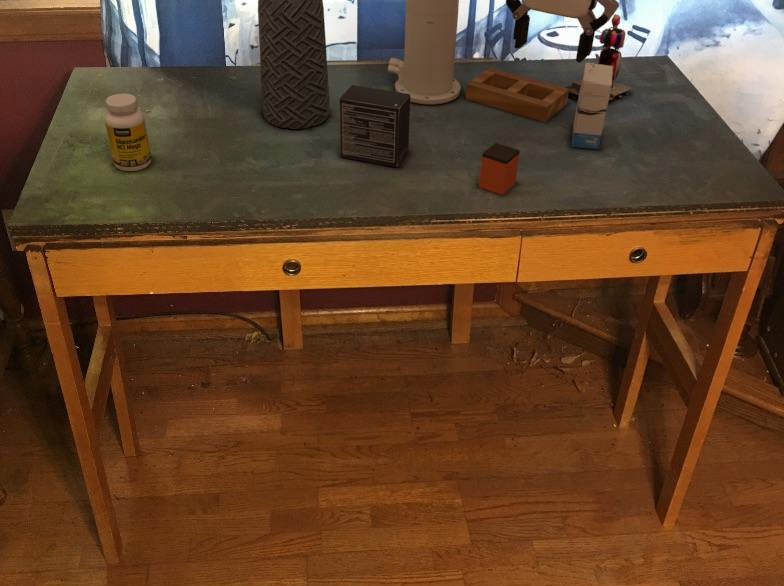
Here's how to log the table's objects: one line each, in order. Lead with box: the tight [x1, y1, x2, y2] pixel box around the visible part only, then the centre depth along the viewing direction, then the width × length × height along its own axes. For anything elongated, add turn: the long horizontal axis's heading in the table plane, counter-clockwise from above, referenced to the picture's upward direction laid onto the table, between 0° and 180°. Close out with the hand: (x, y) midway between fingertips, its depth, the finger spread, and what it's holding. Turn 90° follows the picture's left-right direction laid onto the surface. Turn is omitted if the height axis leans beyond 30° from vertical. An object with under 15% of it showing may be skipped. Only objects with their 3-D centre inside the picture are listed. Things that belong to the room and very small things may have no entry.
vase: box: [257, 0, 331, 130], centre depth 147 cm, size 12×12×28 cm
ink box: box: [571, 62, 613, 150], centre depth 148 cm, size 8×5×12 cm, turn 168°
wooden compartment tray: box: [465, 67, 569, 123], centre depth 162 cm, size 9×17×3 cm, turn 56°
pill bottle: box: [104, 93, 152, 172], centre depth 139 cm, size 6×6×11 cm
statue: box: [566, 13, 633, 102], centre depth 162 cm, size 11×9×15 cm
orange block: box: [478, 142, 521, 196], centre depth 138 cm, size 4×4×6 cm
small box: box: [339, 84, 411, 168], centre depth 143 cm, size 11×6×10 cm, turn 71°
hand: (550, 52), depth 127 cm, fingers open, 9 cm apart
